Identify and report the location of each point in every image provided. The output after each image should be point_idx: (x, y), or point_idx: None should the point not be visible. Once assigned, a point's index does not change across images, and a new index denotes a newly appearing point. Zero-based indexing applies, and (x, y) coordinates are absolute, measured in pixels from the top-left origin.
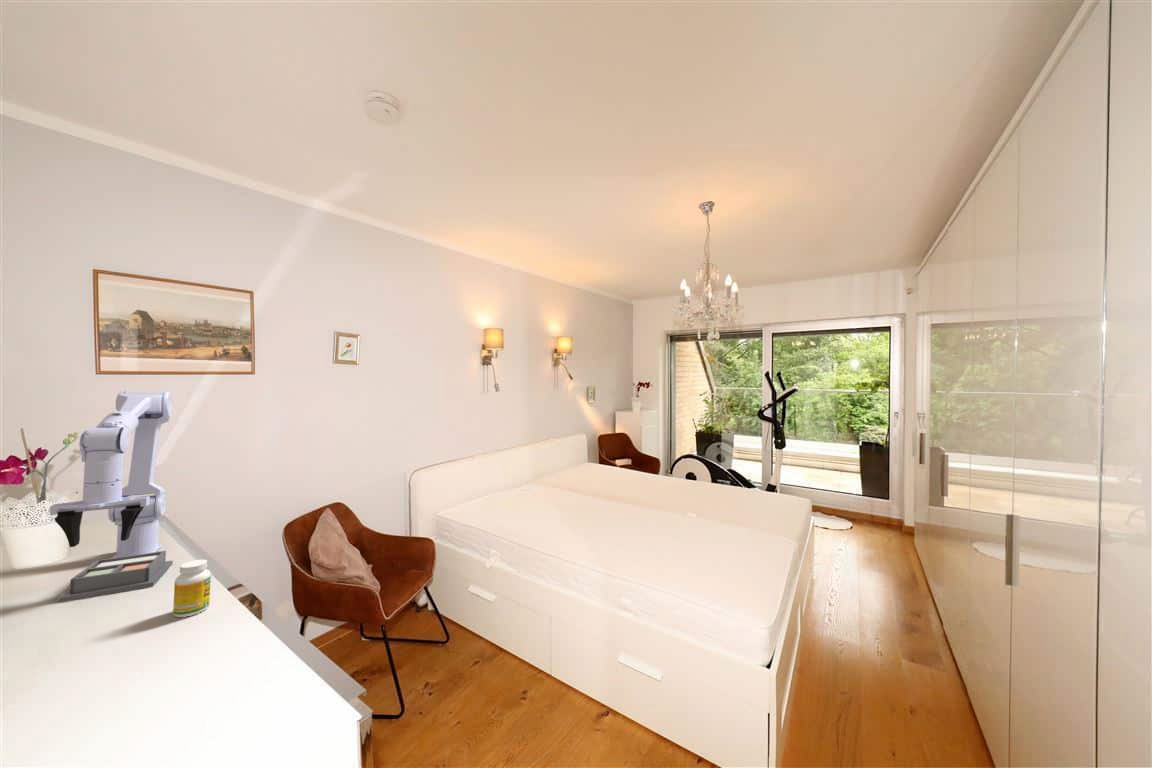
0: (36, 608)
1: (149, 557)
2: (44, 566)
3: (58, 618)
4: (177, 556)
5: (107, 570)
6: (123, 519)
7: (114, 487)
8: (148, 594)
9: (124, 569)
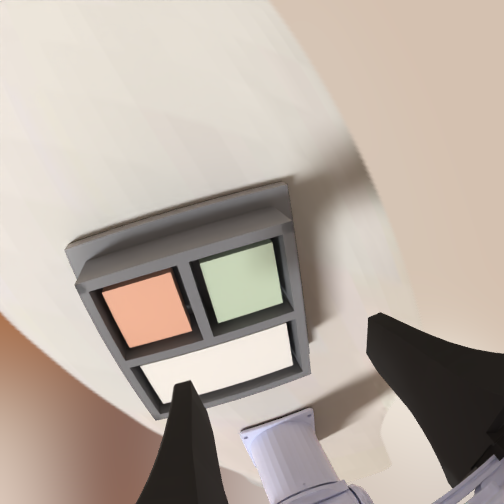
0: (314, 157)
1: None
2: None
3: (204, 55)
4: None
5: (231, 306)
6: (187, 499)
7: None
8: (41, 181)
9: (176, 306)
